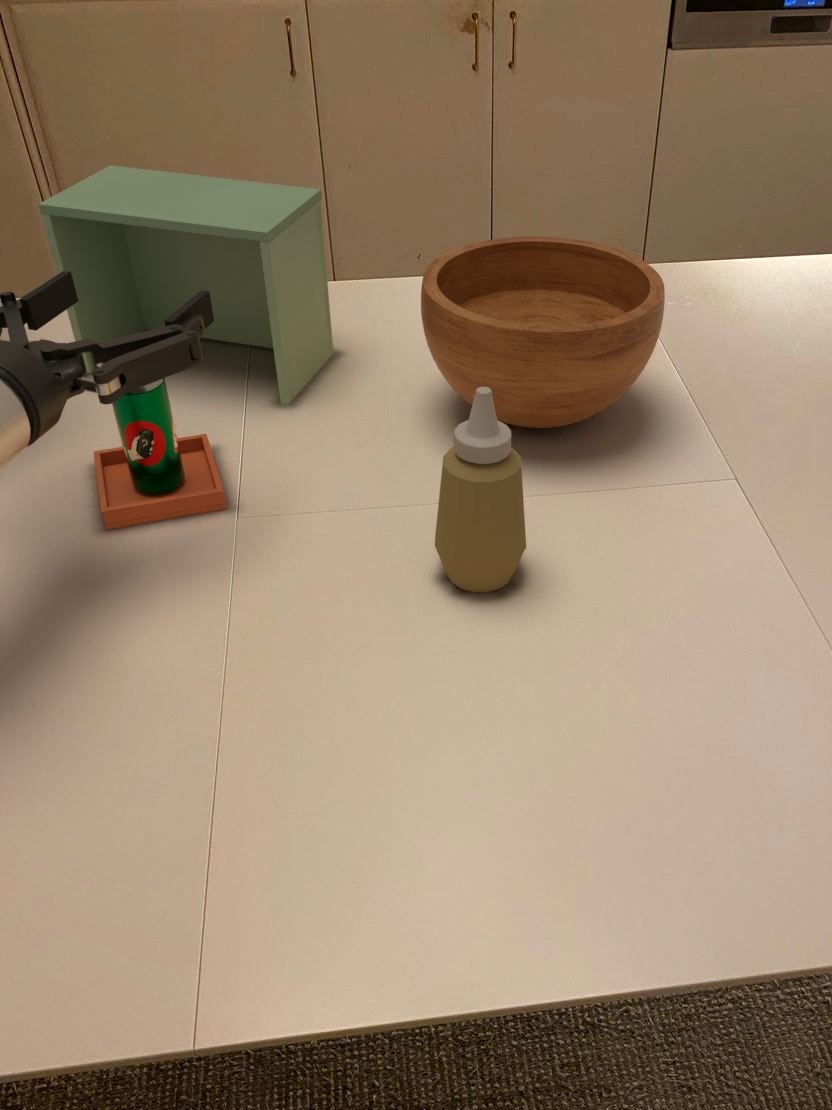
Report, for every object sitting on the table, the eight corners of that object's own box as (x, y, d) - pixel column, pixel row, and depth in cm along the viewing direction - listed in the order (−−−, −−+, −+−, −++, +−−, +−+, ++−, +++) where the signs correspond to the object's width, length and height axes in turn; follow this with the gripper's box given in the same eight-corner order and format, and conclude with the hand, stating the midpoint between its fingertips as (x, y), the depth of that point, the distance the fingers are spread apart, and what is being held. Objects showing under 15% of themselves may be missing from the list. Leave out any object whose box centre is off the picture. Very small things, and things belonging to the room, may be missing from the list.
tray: (98, 469, 100) (93, 451, 99) (209, 451, 103) (206, 433, 102) (106, 530, 92) (101, 511, 91) (226, 508, 95) (223, 490, 94)
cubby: (288, 405, 111) (267, 232, 98) (83, 372, 115) (37, 204, 103) (335, 351, 121) (321, 188, 108) (144, 323, 126) (110, 165, 113)
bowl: (566, 501, 97) (579, 358, 87) (376, 421, 108) (368, 286, 98) (688, 405, 112) (710, 273, 102) (510, 343, 123) (515, 219, 113)
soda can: (196, 484, 97) (172, 371, 89) (150, 504, 94) (122, 389, 86) (168, 464, 100) (144, 353, 92) (123, 482, 97) (94, 369, 89)
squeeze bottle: (541, 567, 89) (555, 384, 77) (493, 614, 84) (499, 427, 72) (467, 537, 92) (469, 357, 80) (416, 581, 87) (410, 396, 75)
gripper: (-134, 426, 77) (28, 317, 93) (151, 478, 73) (272, 354, 88) (-175, 336, 72) (3, 236, 88) (129, 385, 68) (261, 271, 83)
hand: (138, 295), depth 88 cm, fingers open, 13 cm apart
